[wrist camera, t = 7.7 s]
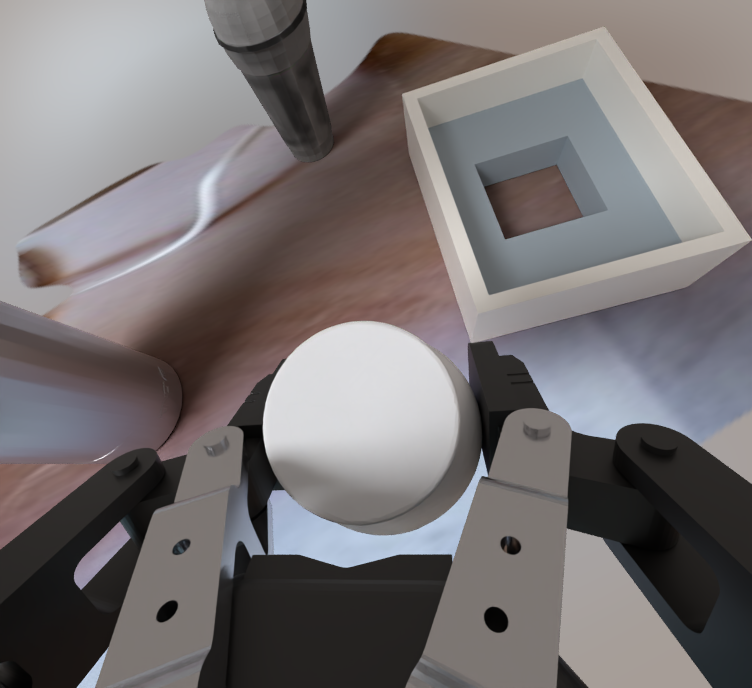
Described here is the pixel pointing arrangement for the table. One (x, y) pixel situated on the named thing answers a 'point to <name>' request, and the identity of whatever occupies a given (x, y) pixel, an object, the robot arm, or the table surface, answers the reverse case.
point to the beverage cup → (278, 67)
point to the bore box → (583, 177)
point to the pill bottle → (372, 428)
